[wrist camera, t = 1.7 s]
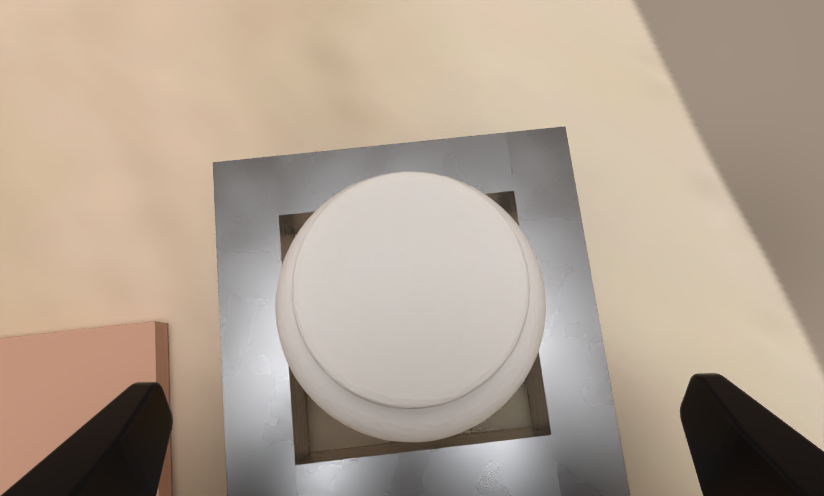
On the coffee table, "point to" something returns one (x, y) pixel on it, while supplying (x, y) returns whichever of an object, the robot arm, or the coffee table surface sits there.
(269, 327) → the frame
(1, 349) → the tile
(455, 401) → the supplement bottle
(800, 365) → the coffee table surface
